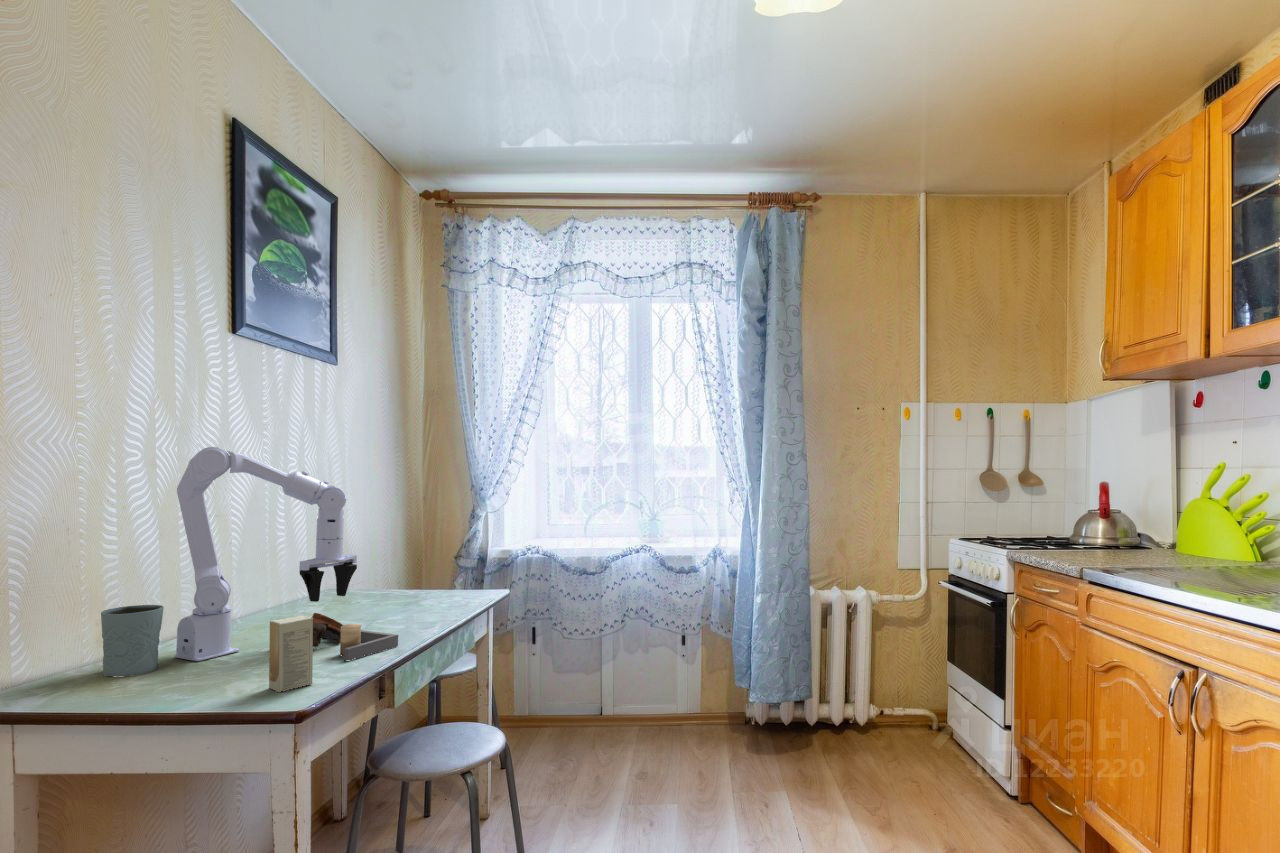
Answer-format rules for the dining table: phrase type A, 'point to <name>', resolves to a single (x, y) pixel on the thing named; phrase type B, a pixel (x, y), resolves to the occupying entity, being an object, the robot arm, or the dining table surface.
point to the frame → (367, 643)
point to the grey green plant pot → (131, 639)
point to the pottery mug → (324, 627)
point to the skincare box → (290, 653)
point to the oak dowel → (350, 636)
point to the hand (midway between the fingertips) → (328, 598)
